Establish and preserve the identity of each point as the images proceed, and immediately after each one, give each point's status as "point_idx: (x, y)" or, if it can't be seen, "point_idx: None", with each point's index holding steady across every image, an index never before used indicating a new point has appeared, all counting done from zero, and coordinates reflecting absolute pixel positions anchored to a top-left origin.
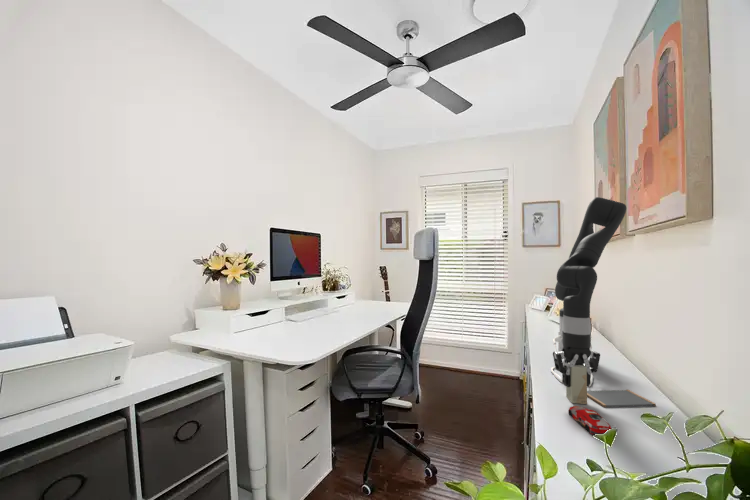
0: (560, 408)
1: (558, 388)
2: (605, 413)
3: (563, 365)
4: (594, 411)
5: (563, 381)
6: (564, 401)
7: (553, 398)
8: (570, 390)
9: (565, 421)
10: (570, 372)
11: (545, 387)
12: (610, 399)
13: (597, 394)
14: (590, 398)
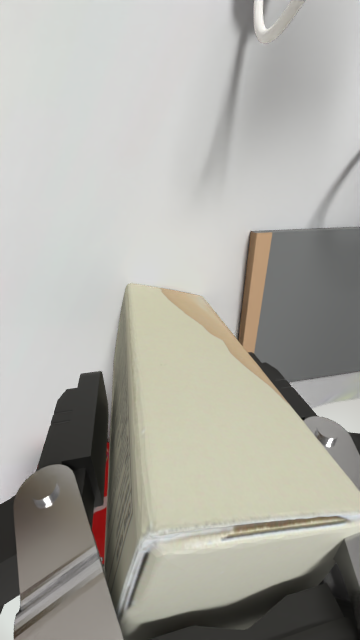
0: (25, 413)
1: (143, 137)
2: None
3: (23, 597)
4: (100, 552)
5: (62, 413)
6: (82, 344)
7: (28, 312)
8: (113, 387)
9: (5, 495)
10: (106, 532)
11: (33, 99)
12: (314, 335)
13: (307, 283)
14: (242, 311)
